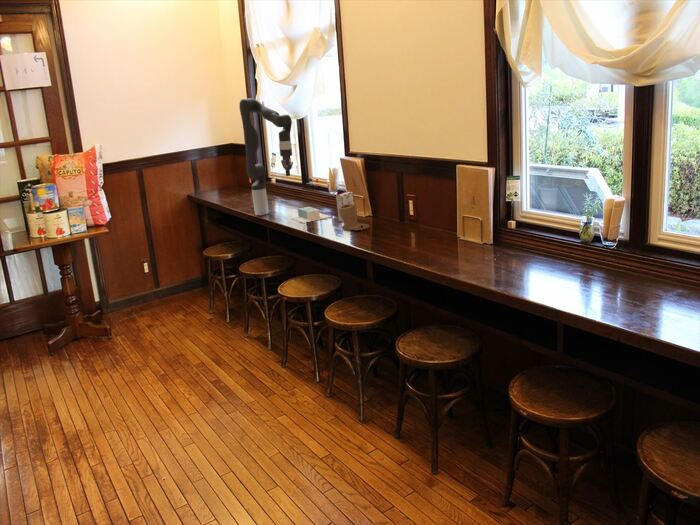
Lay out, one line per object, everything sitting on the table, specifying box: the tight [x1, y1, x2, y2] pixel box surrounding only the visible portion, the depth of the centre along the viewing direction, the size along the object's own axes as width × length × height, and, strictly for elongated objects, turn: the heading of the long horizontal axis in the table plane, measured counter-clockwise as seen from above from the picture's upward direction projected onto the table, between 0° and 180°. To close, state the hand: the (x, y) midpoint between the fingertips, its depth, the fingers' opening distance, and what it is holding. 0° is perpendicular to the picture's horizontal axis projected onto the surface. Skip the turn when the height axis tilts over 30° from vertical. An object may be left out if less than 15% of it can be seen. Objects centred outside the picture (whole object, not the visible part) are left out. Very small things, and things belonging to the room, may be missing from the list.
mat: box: [290, 212, 332, 224], centre depth 392 cm, size 17×20×1 cm
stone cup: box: [339, 203, 370, 231], centre depth 352 cm, size 15×12×15 cm
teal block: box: [297, 206, 320, 220], centre depth 393 cm, size 5×8×14 cm
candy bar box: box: [335, 191, 355, 223], centre depth 377 cm, size 11×5×16 cm, turn 143°
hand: (288, 175), depth 390 cm, fingers closed
